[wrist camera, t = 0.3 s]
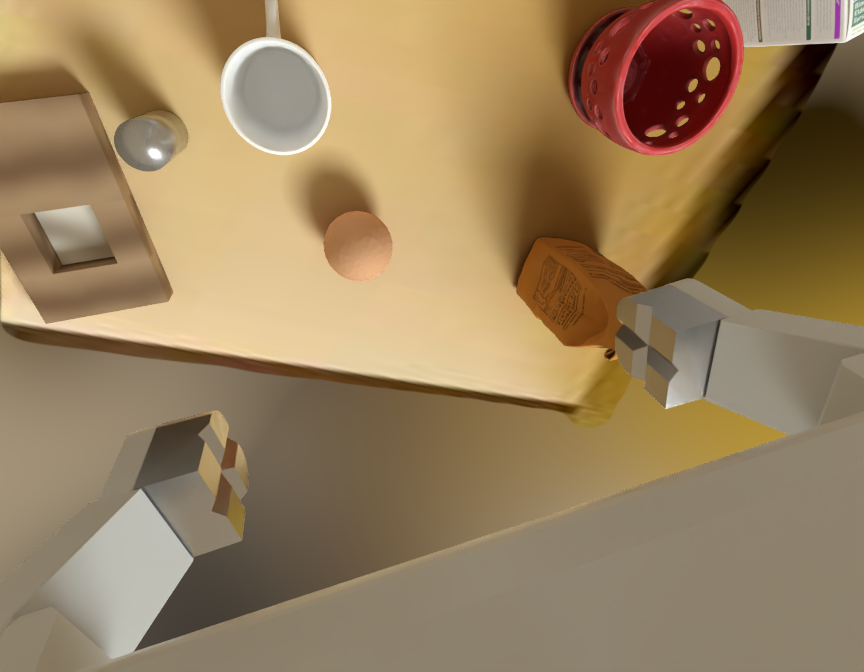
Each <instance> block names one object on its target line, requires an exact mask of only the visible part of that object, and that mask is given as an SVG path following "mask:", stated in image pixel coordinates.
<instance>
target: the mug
mask: <svg viewBox="0 0 864 672" xmlns="http://www.w3.org/2000/svg"><path fill="white" fill-rule="evenodd" d="M265 13H266V37H260V38H255V39H252V40H249V41H247V42H245V43H243V44H242V45H240V46H239V47H238V48H237V49H236V50H235V51H234V52H233V53H232V54H231V55H230V57H229V58H228V60H227V61H226V63H225V66H224V68H223V71H222V75H221V81H220V94H221V100H222V104H223V108H224V111H225V113H226V115H227V118H228V119H229V121H230V123H231V124H232V126H233V127H234V129H235V130H236V131H237V132H238V134H239V135H240V136H241V137H242V138H243V139H245V140H246V141H247V142H248V143H250V144H251V145H253V146H254V147H256V148H258V149H260V150H262V151H265V152H268V153H272V154H278V155H289V154H295V153H299V152H301V151H304V150H306V149H308V148H309V147H311V146H312V145H313V144H314V143H316V142H317V141H318V139H319V138H320V137H321V136H322V134H323V133H324V131H325V129H326V127H327V125H328V122H329V118H330V113H331V95H330V90H329V86H328V83H327V80H326V78H325V76H324V74H323V72H322V70H321V68H320V67H319V65H318V64H317V63H316V61H315V60H314V59H313V57H312V56H311V55H310V54H309V53H308V52H307V51H306V50H304V49H303V48H302V47H300V46H299V45H297V44H295V43H293V42H291V41H288V40H285V39H281V34H280V23H279V12H278V2H277V0H265Z"/></svg>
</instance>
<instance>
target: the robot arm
mask: <svg viewBox="0 0 864 672" xmlns="http://www.w3.org/2000/svg"><path fill="white" fill-rule="evenodd" d="M616 317H617V319H618V320H619V321H620V322H621V323H622V326H621V327H620V329H619V330H618V332H617V333H616V335H615V350H616V354H617V357H618V360H619V362H620V364H621V365H622V367H623V368H624V370H625V371H626V372H627V373H628V374H629V375H630V376H632V377H635V378H639V379H642V380H645V386H644V389H645V390H646V391H647V392H648V393H649V394H650V395H651V396H652V397H654V398H655V399H656V400H657V401H658V402H659V403H660V404H661V405H662V406H663V407H664V408H665V409H667V408H670V407H674V406H678V405H681V404H685V403H688V402H692V401H695V400H699V399H703V398H705V400H706V401H709V402H711V403H714V404H716V405H718V406H721V407H723V408H726V409H728V410H731V411H733V412H735V413H738V414H740V415H742V416H745V417H747V418H750V419H752V420H755V421H757V422H759V423H762V424H764V425H766V426H769V427H771V428H774V429H776V430H778V431H781V432H783V433H786V434H788V435H789V436H786V437H783V438H780V439H777V440H774V441H771V442H768V443H765V444H762V445H759V446H756V447H753V448H750V449H747V450H744V451H742V452H738V453H735V454H732V455H729V456H726V457H723V458H720V459H717V460H714V461H711V462H708V463H705V464H702V465H699V466H695V467H692V468H690V469H686V470H683V471H680V472H677V473H674V474H671V475H668V476H665V477H662V478H659V479H656V480H653V481H650V482H647V483H644V484H641V485H638V486H635V487H632V488H629V489H626V490H622V491H620V492H616V493H613V494H610V495H608V496H604V497H601V498H598V499H595V500H592V501H589V502H586V503H583V504H580V505H577V506H574V507H571V508H568V509H565V510H562V511H559V512H556V513H553V514H550V515H547V516H544V517H541V518H538V519H535V520H532V521H529V522H526V523H522V524H520V525H517V526H513V527H511V528H508V529H505V530H501V531H498V532H496V533H492V534H489V535H487V536H483V537H480V538H477V539H474V540H471V541H468V542H465V543H462V544H459V545H456V546H453V547H450V548H447V549H444V550H441V551H438V552H435V553H432V554H429V555H426V556H423V557H420V558H417V559H414V560H411V561H408V562H405V563H402V564H398V565H396V566H393V567H389V568H386V569H384V570H381V571H377V572H374V573H372V574H368V575H365V576H362V577H359V578H356V579H353V580H350V581H347V582H344V583H341V584H338V585H335V586H332V587H329V588H326V589H323V590H320V591H317V592H314V593H311V594H308V595H305V596H302V597H299V598H295V599H292V600H289V601H286V602H283V603H280V604H277V605H275V606H271V607H268V608H265V609H262V610H259V611H256V612H253V613H250V614H247V615H244V616H241V617H238V618H235V619H232V620H229V621H226V622H223V623H220V624H217V625H214V626H211V627H208V628H205V629H202V630H199V631H196V632H193V633H189V634H186V635H184V636H180V637H177V638H174V639H171V640H169V641H165V642H162V643H159V644H156V645H153V646H150V647H147V648H144V649H141V650H138V651H135V652H133V651H134V650H135V648H136V647H137V645H138V643H139V642H140V640H141V639H142V637H143V636H144V634H145V633H146V631H147V630H148V628H149V627H150V625H151V624H152V622H153V621H154V619H155V618H156V616H157V615H158V613H159V612H160V610H161V609H162V607H163V606H164V604H165V602H166V601H167V599H168V598H169V596H170V595H171V593H172V592H173V590H174V589H175V587H176V586H177V584H178V583H179V581H180V579H181V578H182V577H183V575H184V574H185V572H186V571H187V569H188V568H189V566H190V564H191V563H192V561H193V558H192V557H195V556H198V555H201V554H204V553H207V552H210V551H213V550H215V549H219V548H221V547H224V546H227V545H230V544H233V543H236V542H239V541H242V535H243V525H244V518H245V508H244V507H243V505H242V503H241V502H240V500H241V498H242V497H243V496H244V495H245V493H246V492H247V490H248V480H249V477H248V469H247V463H246V460H245V457H244V454H243V451H242V449H241V448H240V446H239V444H238V443H237V442H235V441H233V440H231V439H229V438H227V435H228V429H229V425H228V423H227V422H226V420H225V418H224V416H223V415H222V413H220V412H219V411H217V410H214V411H210V412H207V413H202V414H198V415H194V416H191V417H187V418H183V419H179V420H175V421H171V422H167V423H163V424H161V425H155V426H152V427H148V428H145V429H141V430H137V431H134V432H132V433H131V434H129V435H127V437H126V439H125V441H124V443H123V446H122V448H121V450H120V452H119V454H118V457H117V459H116V461H115V463H114V466H113V468H112V470H111V472H110V475H109V476H108V479H107V481H106V483H105V485H104V488H103V490H102V492H101V494H100V496H99V499H98V501H96V502H92V503H89V504H87V505H86V506H85V507H84V508H83V509H81V510H80V511H79V512H78V513H77V514H76V515H75V516H74V517H72V518H71V519H70V520H69V521H68V522H67V523H66V524H65V525H63V527H61V528H60V529H59V530H58V531H57V532H56V533H55V534H53V535H52V536H51V537H50V538H49V539H48V540H47V541H46V542H45V543H43V544H42V545H41V546H40V547H39V548H38V549H37V550H36V551H34V553H32V554H31V555H30V556H29V557H28V558H27V559H26V560H24V561H23V562H22V563H21V564H20V565H19V566H18V567H16V569H14V570H13V571H12V572H11V573H10V574H9V575H8V576H6V577H5V578H4V579H3V580H2V581H1V582H0V672H864V327H862V326H856V325H851V324H845V323H839V322H833V321H826V320H821V319H815V318H809V317H803V316H797V315H791V314H786V313H780V312H774V311H768V310H762V309H757V310H753V311H751V310H749V309H748V308H746V307H744V306H742V305H740V304H739V303H737V302H735V301H733V300H731V299H730V298H728V297H726V296H724V295H722V294H721V293H719V292H717V291H715V290H713V289H712V288H710V287H708V286H706V285H704V284H703V283H701V282H699V281H697V280H695V279H684V280H681V281H677V282H674V283H671V284H668V285H665V286H663V287H659V288H656V289H653V290H649V291H646V292H642V293H639V294H636V295H632V296H629V297H625V298H622V299H620V301H619V303H618V305H617V314H616Z"/></svg>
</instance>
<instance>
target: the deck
mask: <svg viewBox="0 0 864 672" xmlns="http://www.w3.org/2000/svg"><path fill="white" fill-rule="evenodd" d="M0 248H1V250H2V252H3V253H4V255H5V257H6V258H7V260H8V262H9V263H10V265H11V267H12V268H13V270H14V272H15V273H16V275H17V276H18V278H19V280H20V281H21V283H22V285H23V286H24V288H25V290H26V291H27V293H28V295H29V296H30V298H31V300H32V301H33V303H34V305H35V306H36V308H37V310H38V311H39V313H40V315H41V316H42V318H43V320H44V321H45V323H46V324H47V323H53V322H58V321H64V320H69V319H75V318H80V317H86V316H91V315H97V314H102V313H108V312H114V311H119V310H125V309H130V308H136V307H141V306H147V305H152V304H158V303H163V302H168V301H169V299H170V297H171V295H172V294H173V290H172V288H171V285H170V283H169V281H168V278H167V276H166V273H165V271H164V269H163V266H162V264H161V262H160V259H159V257H158V255H157V252H156V250H155V247H154V245H153V243H152V240H151V238H150V236H149V233H148V231H147V229H146V226H145V224H144V221H143V219H142V217H141V214H140V212H139V210H138V207H137V205H136V202H135V200H134V198H133V195H132V193H131V191H130V188H129V186H128V184H127V181H126V179H125V176H124V174H123V172H122V169H121V167H120V165H119V162H118V160H117V157H116V155H115V153H114V150H113V148H112V146H111V143H110V141H109V139H108V136H107V134H106V131H105V129H104V127H103V124H102V122H101V120H100V117H99V115H98V113H97V110H96V108H95V105H94V103H93V101H92V98H91V96H90V94H89V93H81V94H72V95H63V96H54V97H45V98H36V99H27V100H18V101H9V102H0ZM102 258H103V259H102ZM96 259H97V260H96ZM90 260H91V261H90ZM84 261H85V262H84ZM78 262H79V263H78Z"/></svg>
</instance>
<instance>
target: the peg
mask: <svg viewBox="0 0 864 672" xmlns="http://www.w3.org/2000/svg"><path fill="white" fill-rule="evenodd" d="M114 143H115V147H116V150H117V152H118V154H119V155H120V157H121V158H122V159H123V160H124V161H125V162H126V163H127V164H129V165H130V166H132V167H134V168H136V169H138V170H142V171H155V170H158V169H160V168H162V167H163V166H164V165H166V164H167V163H168V162H169V161H171V160H172V159H173V158H174V157H175V156H177V155H178V154H179V153H180V152H181V151H183V150H184V149H185V147H186V145H187V143H188V132H187V129H186V126H185V125H184V123H183V122H182V121H181V119H180V118H179V117H177V116H176V115H175V114H173V113H171V112H169V111H165V110H154V111H151V112H149V113H146V114H143V115H141V116H138V117H135V118H133V119H130V120H127V121H125V122H123V123H122V124H120V125H119V127H118V128H117V130H116V132H115V135H114Z"/></svg>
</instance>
